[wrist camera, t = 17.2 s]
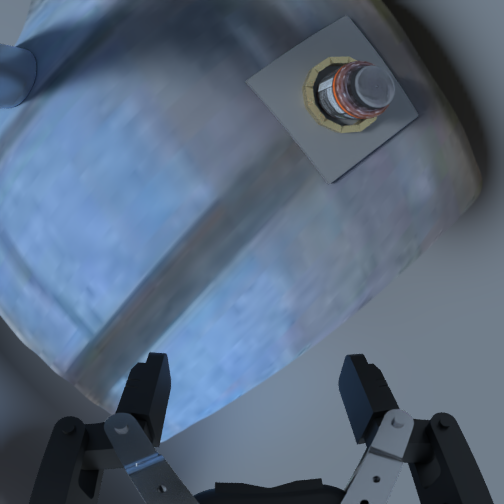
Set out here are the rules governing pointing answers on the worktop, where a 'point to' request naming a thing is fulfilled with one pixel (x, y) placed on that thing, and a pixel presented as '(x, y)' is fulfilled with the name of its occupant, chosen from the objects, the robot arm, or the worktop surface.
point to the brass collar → (314, 110)
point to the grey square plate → (298, 118)
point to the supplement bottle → (356, 91)
